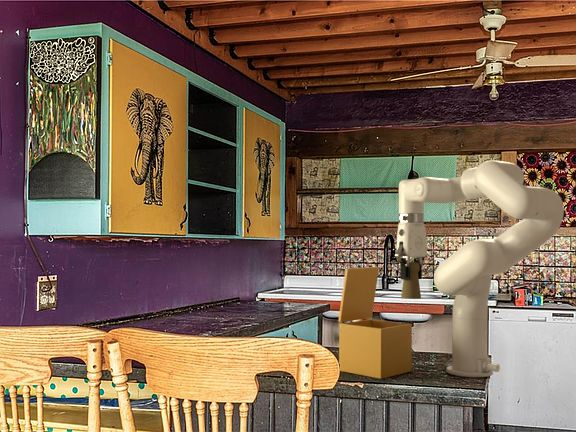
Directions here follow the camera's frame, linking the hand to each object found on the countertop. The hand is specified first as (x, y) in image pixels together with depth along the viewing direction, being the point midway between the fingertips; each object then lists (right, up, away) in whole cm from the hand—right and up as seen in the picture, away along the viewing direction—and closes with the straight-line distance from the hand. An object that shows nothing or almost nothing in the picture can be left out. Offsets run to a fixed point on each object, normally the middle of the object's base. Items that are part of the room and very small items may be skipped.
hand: (411, 278), depth 209 cm
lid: (-17, -3, -11) cm, 20 cm away
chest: (-13, -25, -16) cm, 32 cm away
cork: (0, -6, 0) cm, 6 cm away
